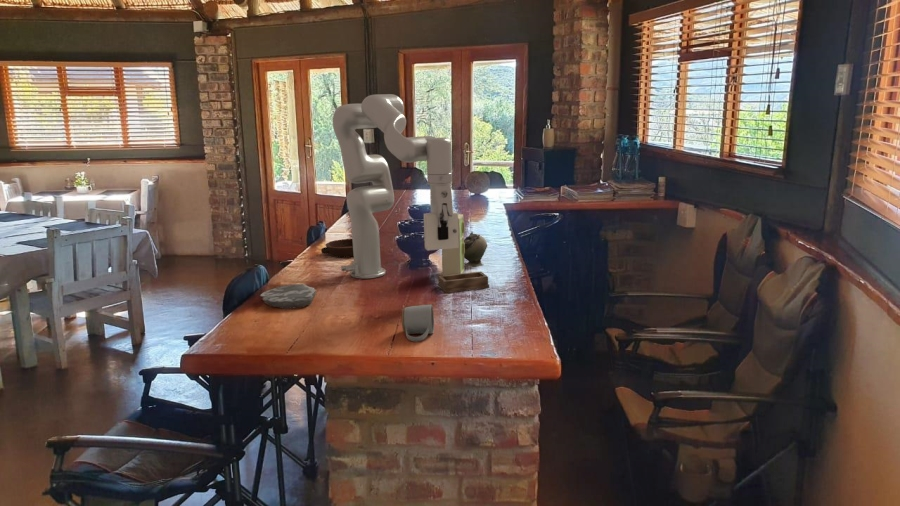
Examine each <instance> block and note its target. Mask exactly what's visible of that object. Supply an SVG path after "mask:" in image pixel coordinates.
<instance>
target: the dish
mask: <svg viewBox="0 0 900 506" xmlns="http://www.w3.org/2000/svg"><path fill="white" fill-rule="evenodd" d="M320 250H321V252H320V253H321V254H325V255H330V256H332V257H334V256H335V258H354V255H353V240H352V238H344V239H336V240H332V241H329V242H327V243H326V244H325V246H324V247H322V248H321V249H320Z"/></svg>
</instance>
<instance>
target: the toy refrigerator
mask: <svg viewBox="0 0 900 506" xmlns="http://www.w3.org/2000/svg"><path fill="white" fill-rule="evenodd" d="M465 232H466V230H465V221H464V214H462V213H458V240H459V248H451V249H441V268H442V269H441V270H442V275H441V276H445V275H454V274H463V273H464V272H465V258H464V253H465V243H464V240H465V237H464V236H465V234H464V233H465Z"/></svg>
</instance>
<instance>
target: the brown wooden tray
mask: <svg viewBox="0 0 900 506" xmlns="http://www.w3.org/2000/svg"><path fill="white" fill-rule="evenodd" d="M437 277H438V282H437V287H439V288H440V289H441V290H442V292H444V293H445V294H449V293H455V292H456V293H457V292H464V291H472V290H473V291H474V290H481V289H490V284H489V276H488V275H486V274H485V273H484V272H483V271H472V272H465V273H464V272H463V274H454V275H445V276H443V275H439V276H437Z"/></svg>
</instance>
